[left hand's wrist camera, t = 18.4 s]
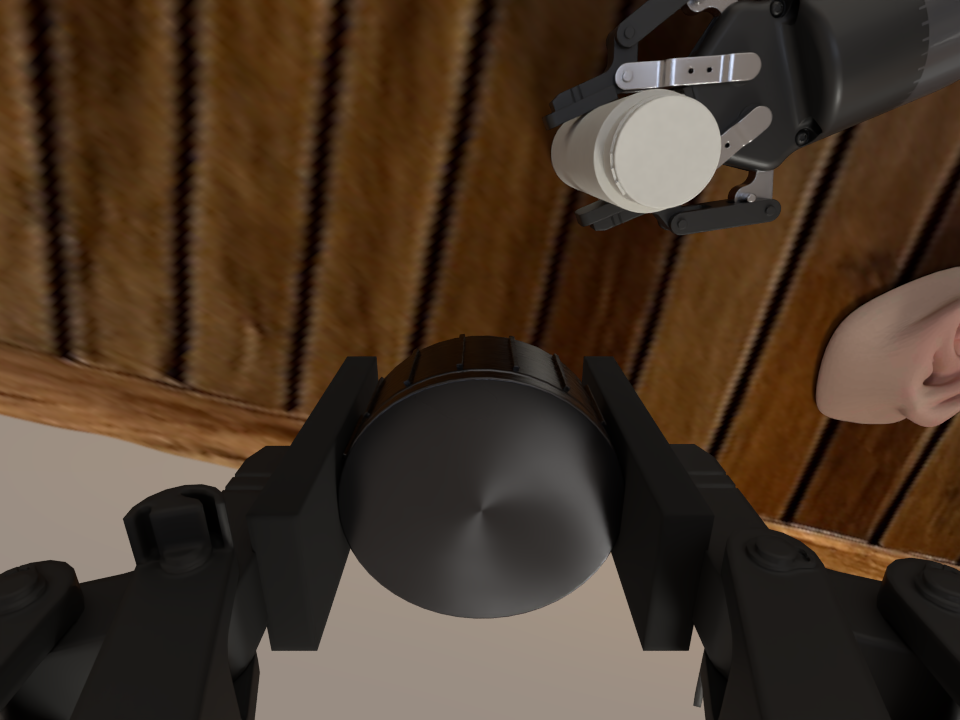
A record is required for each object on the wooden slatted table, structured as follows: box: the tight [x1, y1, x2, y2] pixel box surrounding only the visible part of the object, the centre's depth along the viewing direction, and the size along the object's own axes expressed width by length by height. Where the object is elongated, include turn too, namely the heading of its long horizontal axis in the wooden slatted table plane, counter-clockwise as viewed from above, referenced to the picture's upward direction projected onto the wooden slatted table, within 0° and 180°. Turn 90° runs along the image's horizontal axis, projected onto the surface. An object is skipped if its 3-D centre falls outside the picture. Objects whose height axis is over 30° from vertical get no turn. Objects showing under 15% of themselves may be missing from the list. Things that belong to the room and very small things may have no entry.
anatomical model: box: [816, 267, 960, 427], centre depth 38 cm, size 13×4×12 cm
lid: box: [337, 334, 625, 618], centre depth 11 cm, size 6×6×2 cm
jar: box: [551, 89, 721, 213], centre depth 28 cm, size 5×5×16 cm
